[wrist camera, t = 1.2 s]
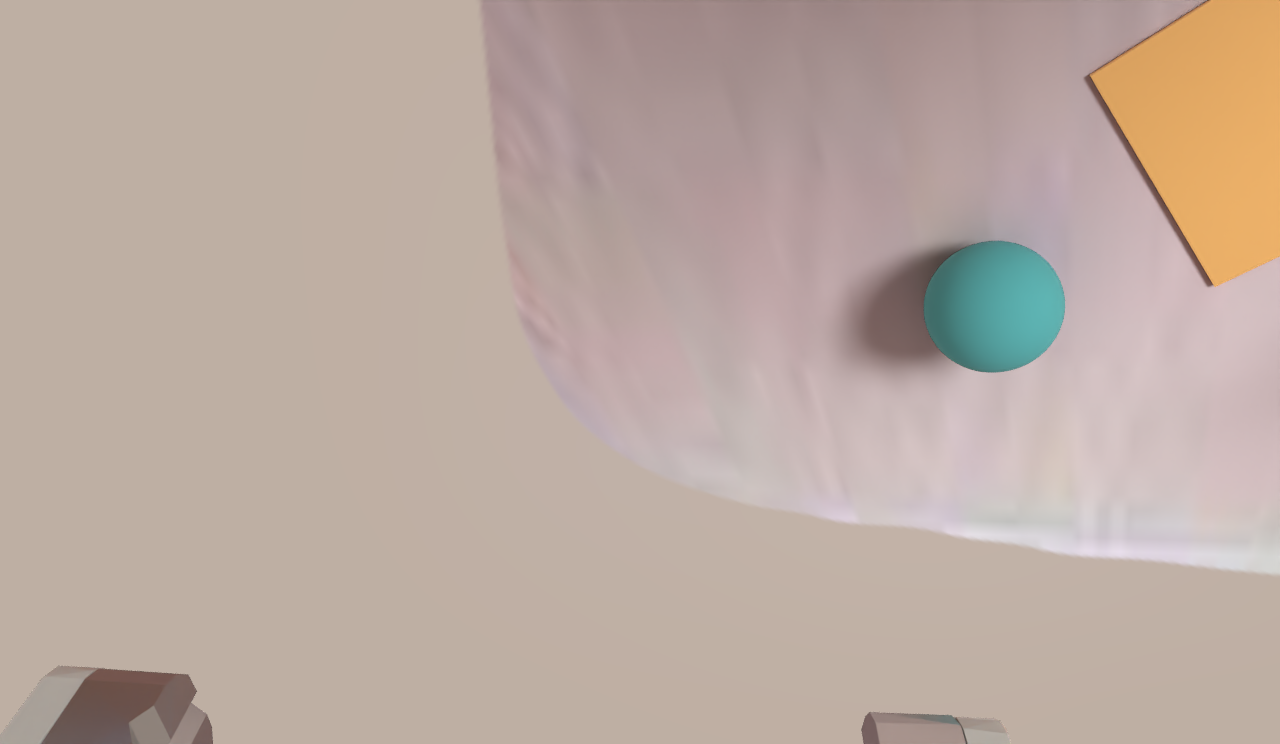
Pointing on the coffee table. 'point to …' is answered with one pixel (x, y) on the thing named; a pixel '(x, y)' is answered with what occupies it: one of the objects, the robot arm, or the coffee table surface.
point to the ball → (994, 306)
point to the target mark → (1209, 127)
